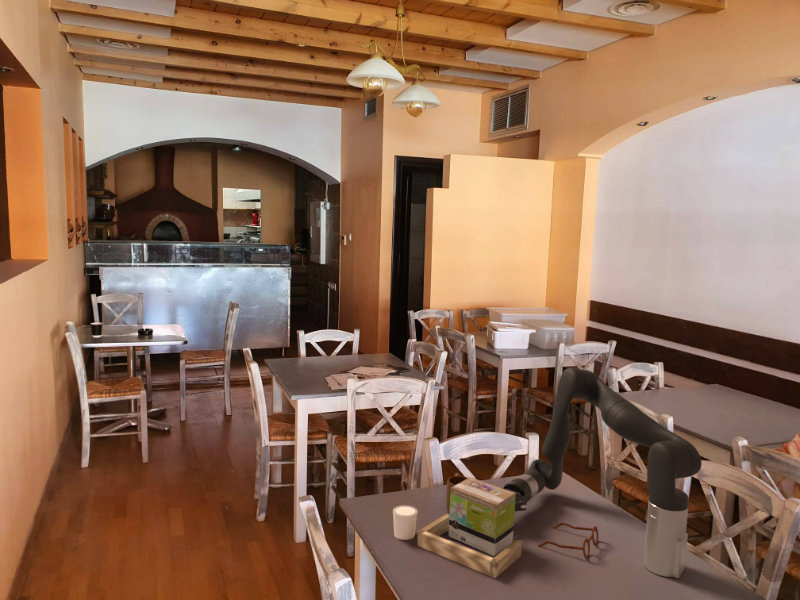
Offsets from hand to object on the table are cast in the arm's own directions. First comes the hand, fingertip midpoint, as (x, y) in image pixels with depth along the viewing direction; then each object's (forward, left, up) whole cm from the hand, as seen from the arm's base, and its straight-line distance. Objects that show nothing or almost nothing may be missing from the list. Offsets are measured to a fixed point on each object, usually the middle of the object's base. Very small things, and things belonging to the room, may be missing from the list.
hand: (491, 510), depth 174 cm
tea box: (0, +5, -7) cm, 9 cm away
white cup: (+18, +16, -7) cm, 25 cm away
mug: (+16, -8, -7) cm, 19 cm away
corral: (0, +12, -7) cm, 14 cm away
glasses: (-19, -10, -8) cm, 22 cm away
